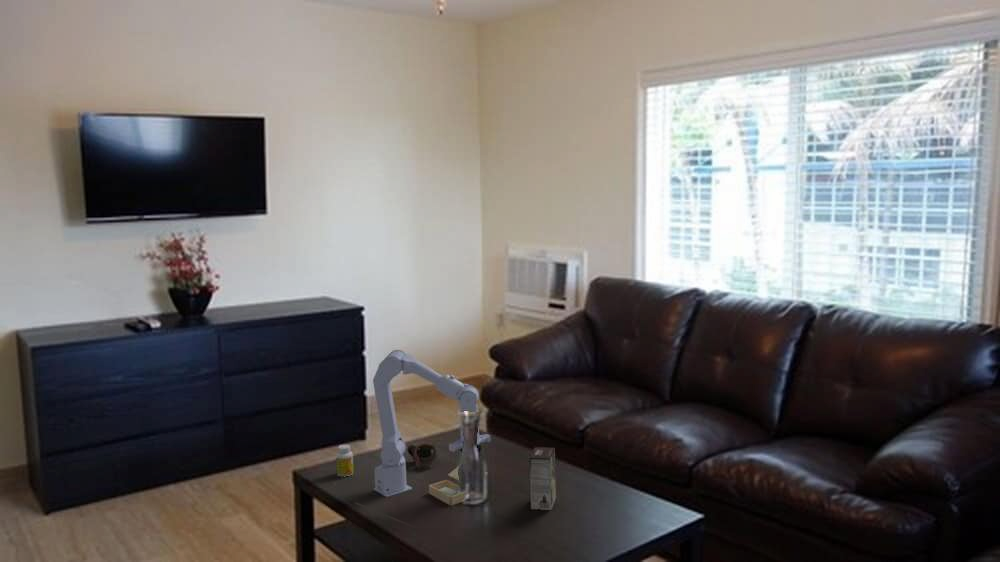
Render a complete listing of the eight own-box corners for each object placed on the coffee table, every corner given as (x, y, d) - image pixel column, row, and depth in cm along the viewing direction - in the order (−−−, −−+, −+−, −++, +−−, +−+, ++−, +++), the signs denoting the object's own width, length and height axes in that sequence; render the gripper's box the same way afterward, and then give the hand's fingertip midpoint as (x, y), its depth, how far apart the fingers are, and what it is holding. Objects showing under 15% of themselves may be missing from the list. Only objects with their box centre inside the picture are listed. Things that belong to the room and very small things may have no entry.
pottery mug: (443, 461, 274) (443, 445, 269) (430, 481, 268) (429, 465, 262) (413, 449, 278) (412, 433, 273) (399, 468, 272) (398, 452, 266)
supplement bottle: (335, 477, 260) (334, 449, 259) (339, 471, 265) (337, 443, 264) (351, 477, 260) (350, 449, 259) (355, 471, 265) (353, 443, 264)
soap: (450, 500, 239) (449, 494, 239) (438, 496, 242) (438, 489, 242) (457, 497, 241) (456, 490, 241) (445, 493, 244) (445, 486, 244)
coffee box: (535, 496, 241) (534, 446, 239) (556, 498, 240) (555, 447, 237) (530, 509, 232) (529, 457, 230) (552, 510, 231) (551, 458, 229)
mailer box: (450, 506, 235) (450, 497, 235) (428, 494, 245) (428, 485, 244) (469, 500, 239) (469, 491, 239) (447, 488, 249) (447, 479, 248)
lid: (487, 472, 242) (488, 473, 243) (464, 461, 252) (464, 462, 252) (471, 486, 239) (471, 487, 239) (448, 474, 249) (448, 475, 249)
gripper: (457, 434, 237) (459, 477, 239) (496, 424, 246) (496, 465, 247) (444, 428, 242) (445, 471, 244) (482, 418, 251) (483, 459, 253)
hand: (470, 468), depth 246 cm, fingers closed
